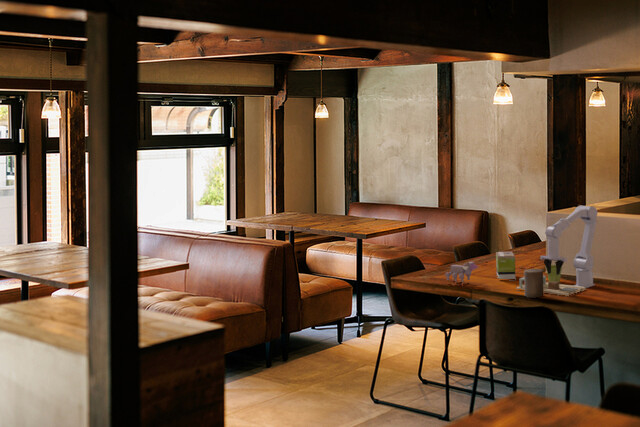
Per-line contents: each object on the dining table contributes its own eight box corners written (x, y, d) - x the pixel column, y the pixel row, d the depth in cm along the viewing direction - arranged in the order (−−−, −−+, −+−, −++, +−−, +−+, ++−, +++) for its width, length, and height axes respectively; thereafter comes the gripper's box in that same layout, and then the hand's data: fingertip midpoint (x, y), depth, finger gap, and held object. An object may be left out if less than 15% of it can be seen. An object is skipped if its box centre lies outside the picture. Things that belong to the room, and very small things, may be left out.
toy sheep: (484, 284, 452) (483, 261, 450) (474, 288, 444) (473, 265, 442) (454, 281, 466) (453, 258, 464) (444, 285, 458) (442, 262, 456)
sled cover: (532, 282, 444) (532, 272, 443) (546, 284, 438) (545, 274, 438) (519, 287, 433) (519, 276, 433) (532, 288, 428) (532, 278, 427)
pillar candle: (547, 296, 415) (546, 268, 413) (530, 298, 412) (530, 270, 410) (537, 293, 424) (536, 265, 422) (520, 295, 421) (520, 267, 420)
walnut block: (552, 290, 430) (552, 281, 430) (559, 291, 427) (559, 282, 427) (548, 291, 427) (548, 282, 427) (555, 292, 424) (555, 283, 424)
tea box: (496, 275, 476) (495, 251, 474) (513, 275, 475) (513, 251, 473) (498, 280, 461) (497, 255, 460) (516, 280, 460) (515, 255, 458)
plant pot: (556, 284, 445) (556, 268, 444) (542, 282, 452) (542, 267, 452) (566, 281, 452) (565, 266, 451) (551, 279, 459) (551, 264, 458)
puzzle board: (534, 283, 448) (534, 281, 448) (585, 289, 428) (585, 287, 427) (516, 290, 434) (516, 287, 434) (567, 296, 413) (567, 293, 413)
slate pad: (565, 287, 427) (565, 287, 427) (578, 289, 422) (578, 288, 422) (559, 290, 422) (559, 289, 422) (571, 291, 417) (571, 291, 417)
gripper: (537, 248, 427) (537, 273, 428) (562, 250, 417) (562, 276, 418) (543, 247, 432) (544, 271, 433) (568, 249, 422) (569, 274, 423)
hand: (553, 273), depth 426 cm, fingers open, 4 cm apart
